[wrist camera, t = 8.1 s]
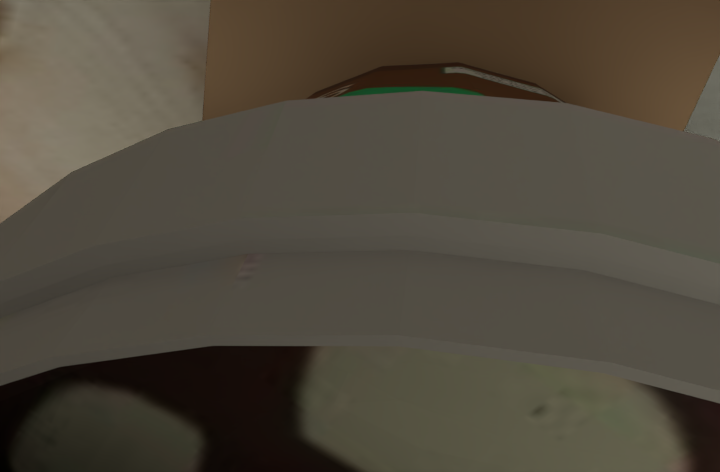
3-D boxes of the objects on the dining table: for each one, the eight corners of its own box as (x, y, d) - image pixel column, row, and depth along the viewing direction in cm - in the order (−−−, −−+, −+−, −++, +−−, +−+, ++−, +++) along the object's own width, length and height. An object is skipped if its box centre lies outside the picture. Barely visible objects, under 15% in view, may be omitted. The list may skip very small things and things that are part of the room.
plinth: (313, -143, 16) (222, -179, 11) (707, -62, 14) (775, -66, 10) (255, 292, 22) (184, 375, 18) (520, 381, 21) (512, 496, 16)
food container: (372, -168, 10) (-193, -750, 1) (642, 49, 11) (1323, 522, 2) (108, 301, 16) (-336, 770, 7) (302, 420, 17) (125, 967, 8)
